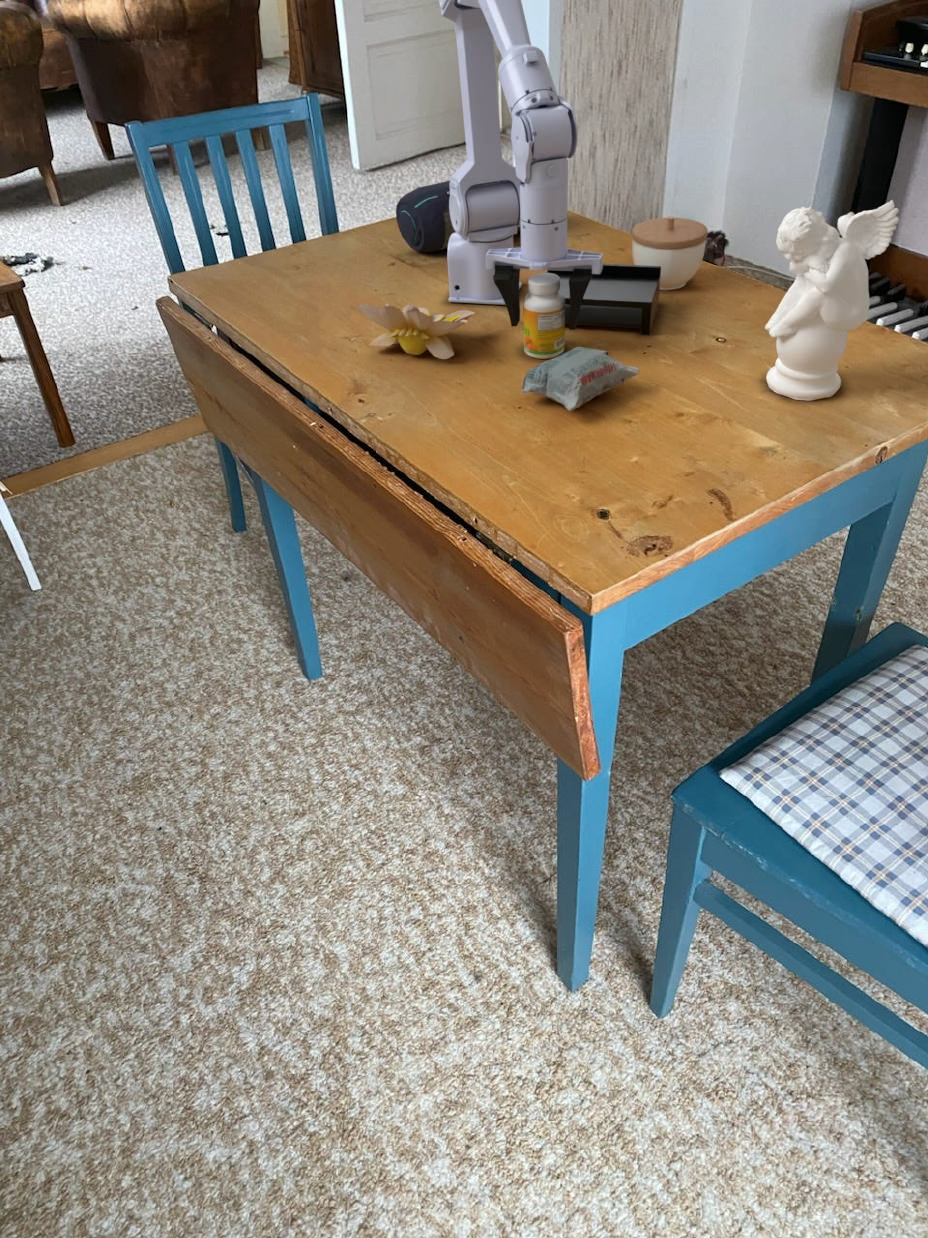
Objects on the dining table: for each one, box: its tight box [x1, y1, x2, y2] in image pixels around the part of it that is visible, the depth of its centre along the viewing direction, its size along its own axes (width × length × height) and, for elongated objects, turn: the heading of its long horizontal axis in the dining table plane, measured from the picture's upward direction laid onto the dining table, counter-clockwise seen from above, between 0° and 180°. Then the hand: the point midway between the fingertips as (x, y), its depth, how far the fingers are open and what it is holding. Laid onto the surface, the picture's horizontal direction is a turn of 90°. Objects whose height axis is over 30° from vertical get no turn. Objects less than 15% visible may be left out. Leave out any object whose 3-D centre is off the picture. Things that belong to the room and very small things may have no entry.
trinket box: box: [631, 216, 709, 291], centre depth 139 cm, size 11×11×9 cm
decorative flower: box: [355, 303, 475, 360], centre depth 126 cm, size 15×11×10 cm
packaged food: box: [521, 346, 639, 412], centre depth 115 cm, size 9×12×5 cm
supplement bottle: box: [522, 272, 566, 360], centre depth 123 cm, size 5×5×10 cm
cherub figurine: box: [764, 199, 900, 402], centre depth 109 cm, size 12×12×22 cm
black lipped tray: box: [546, 263, 661, 336], centre depth 132 cm, size 16×10×6 cm, turn 74°
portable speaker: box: [395, 180, 521, 253], centre depth 158 cm, size 25×10×10 cm, turn 119°
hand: (544, 324), depth 124 cm, fingers open, 7 cm apart
